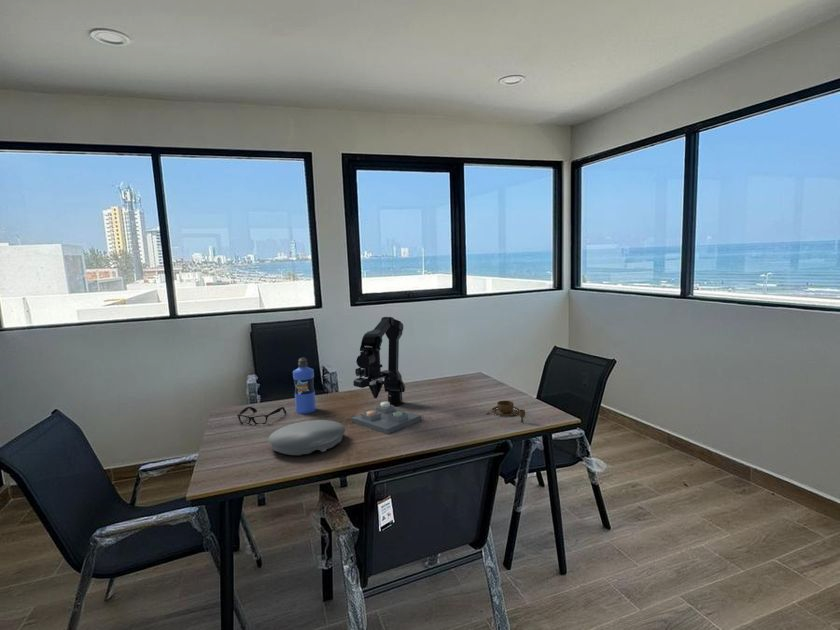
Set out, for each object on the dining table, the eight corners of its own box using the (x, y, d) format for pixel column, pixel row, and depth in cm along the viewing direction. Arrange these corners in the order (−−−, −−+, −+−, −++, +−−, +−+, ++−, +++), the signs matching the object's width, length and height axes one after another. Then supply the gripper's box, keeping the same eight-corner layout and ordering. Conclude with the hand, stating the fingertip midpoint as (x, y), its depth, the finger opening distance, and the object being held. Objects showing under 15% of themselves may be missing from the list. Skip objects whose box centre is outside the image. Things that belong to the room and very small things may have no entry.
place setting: (526, 409, 201) (526, 397, 200) (527, 426, 181) (527, 411, 180) (486, 408, 204) (486, 396, 204) (483, 424, 185) (483, 410, 184)
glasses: (234, 426, 195) (232, 415, 194) (254, 411, 212) (253, 401, 211) (270, 427, 192) (268, 416, 191) (287, 411, 210) (286, 401, 209)
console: (386, 409, 206) (385, 401, 205) (421, 419, 191) (421, 410, 190) (351, 422, 191) (351, 413, 191) (387, 434, 176) (386, 424, 176)
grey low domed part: (315, 425, 189) (314, 415, 189) (361, 440, 171) (360, 429, 171) (254, 449, 168) (253, 437, 167) (299, 468, 150) (298, 455, 150)
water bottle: (313, 413, 204) (309, 359, 202) (293, 414, 205) (289, 360, 202) (318, 407, 214) (315, 355, 211) (298, 407, 214) (295, 356, 211)
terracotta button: (371, 414, 193) (371, 410, 192) (378, 416, 190) (377, 411, 190) (364, 417, 190) (364, 412, 189) (370, 419, 187) (370, 414, 187)
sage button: (398, 415, 190) (397, 410, 190) (404, 417, 188) (404, 412, 187) (391, 418, 187) (391, 413, 187) (397, 420, 185) (397, 415, 184)
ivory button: (385, 405, 201) (385, 401, 201) (391, 407, 198) (391, 402, 198) (378, 407, 198) (378, 403, 198) (385, 409, 196) (384, 404, 195)
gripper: (377, 356, 202) (379, 389, 204) (344, 364, 189) (346, 400, 191) (394, 359, 195) (396, 393, 197) (361, 368, 181) (363, 405, 183)
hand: (375, 398), depth 192 cm, fingers closed
